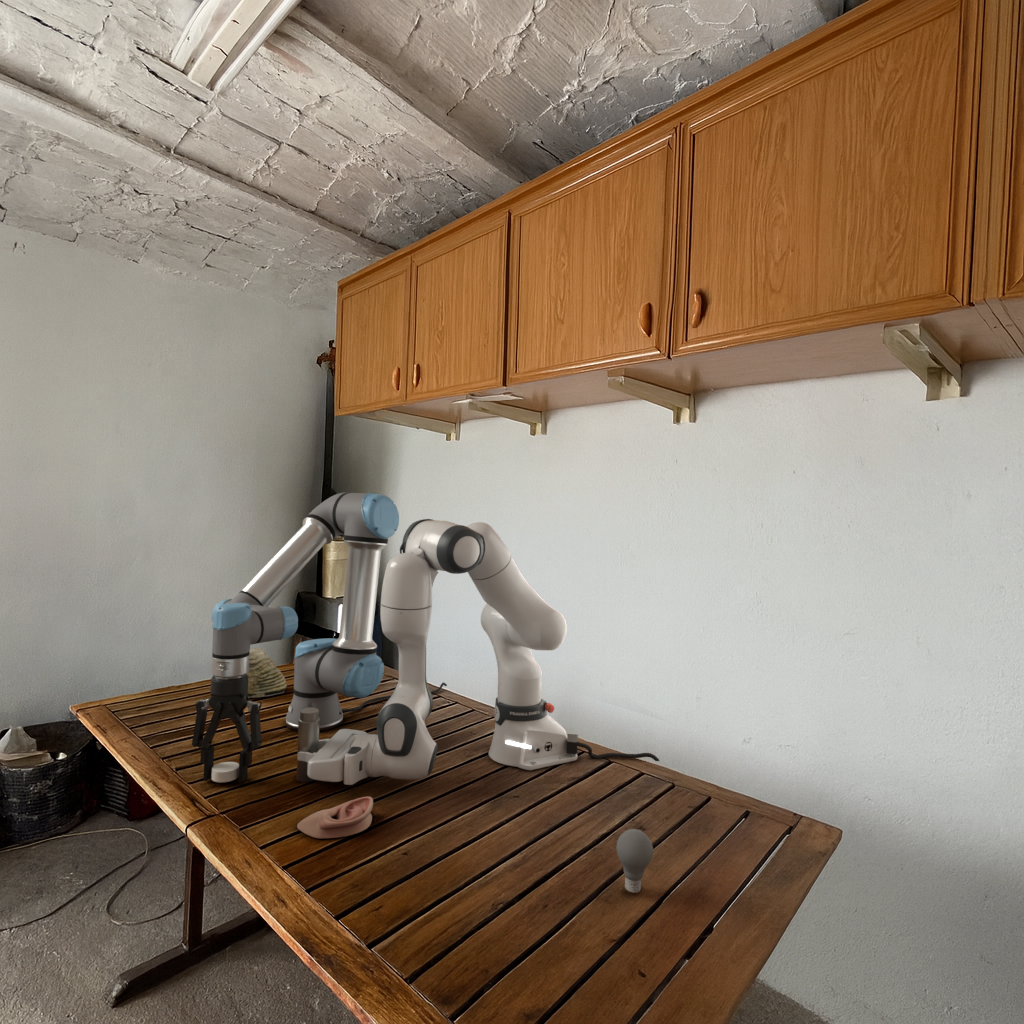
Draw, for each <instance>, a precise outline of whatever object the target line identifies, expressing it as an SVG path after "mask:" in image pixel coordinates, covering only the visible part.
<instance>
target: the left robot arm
mask: <svg viewBox="0 0 1024 1024" xmlns="http://www.w3.org/2000/svg"><path fill="white" fill-rule="evenodd" d="M394 502H395V501H393V499H391V497H389V496H387V495H385V494H380V493H376V492H348V491H347V492H346V491H345V492H339V493H336V494H333V495H332V496H330V497H328V498H327V499H325V500H324V501H322V502H321V503H320V504H318V505H317V506H316V507H314V509H312V510H311V512H309V513H308V514H307V515H306V516H305V517H304V519H303V520H302V526H301V527H300V528H299V529H298V530H297V531H296V532H295V533H294V535H293V536H291V537H290V538H289V540H288V541H287V542H286V543H285V544H284V545H282V547H280V549H278V551H277V552H276V554H274V555H273V556H272V557H271V559H270V560H269V561H268V562H267V563H266V564H265V565H264V566H262V568H261V569H260V570H258V572H257V573H256V574H255V575H254V576H253V577H252V578H251V579H250V581H248V582H247V584H245V586H244V587H242V589H241V590H240V591H239V592H237V594H236V595H234V596H233V598H229V599H227V598H226V599H223V600H221V601H219V602H217V603H216V604H215V606H213V609H212V612H211V620H212V648H211V649H212V651H211V652H212V654H211V669H210V670H211V672H210V673H211V675H212V677H211V678H210V696H209V698H207V699H206V698H201V699H199V700H197V701H196V702H195V704H194V705H195V710H196V716H195V721H194V730H193V734H192V740H191V746H192V747H194V748H195V747H197V748H199V750H200V759H199V761H200V764H201V765H203V781H205V782H207V781H208V780H210V779H211V777H212V767H213V766H214V761H215V746H214V745H212V744H213V740H214V738H215V735H216V733H217V730H218V728H219V727H220V723H221V721H222V719H225V718H226V719H228V720H229V719H230V720H232V723H233V724H234V725H235V729H236V732H237V735H238V738H239V742H240V744H241V747H242V750H241V751H240V752H239V760H238V761H239V762H238V764H239V777H238V783H239V784H240V783H242V784H243V782H245V780H246V779H248V770H249V766H251V764H252V762H253V751H256V750H258V748H259V747H260V746H262V744H263V741H262V728H261V727H262V726H261V725H262V724H261V714H260V713H261V708H262V705H263V704H262V702H261V701H259V700H258V701H252V700H250V698H248V695H247V693H248V675H247V673H248V672H249V654H250V649H251V645H256V644H262V643H268V642H274V641H282V640H284V639H288V638H291V637H293V636H294V635H295V634H296V632H297V630H298V627H299V617H298V614H297V612H296V610H295V609H294V608H293V607H291V606H280V605H279V606H276V607H269V606H270V605H271V604H272V602H273V601H275V599H277V597H278V596H279V595H280V594H281V593H282V592H283V590H284V589H285V588H286V587H287V586H288V585H289V584H290V583H291V582H292V581H293V579H294V578H296V576H297V575H298V574H299V573H300V572H301V571H302V570H303V568H304V567H305V566H307V564H308V563H309V562H310V561H311V560H312V558H314V556H315V555H317V553H318V552H319V551H320V550H321V549H322V548H323V546H324V545H329V544H331V543H332V542H333V541H335V539H336V538H338V537H339V536H343V543H345V545H346V546H347V548H348V550H347V561H346V570H345V580H344V589H343V597H342V598H343V599H342V608H341V618H340V626H339V627H340V628H339V636H338V638H335V637H334V638H331V637H329V638H315V639H308V640H304V641H301V642H299V643H298V644H297V645H296V646H295V652H294V653H295V654H294V656H293V659H294V661H293V662H294V663H293V664H294V668H293V695H292V696H293V697H292V699H291V702H290V704H289V705H288V711H287V713H286V715H285V726H286V728H287V729H289V730H291V731H294V732H295V731H296V732H298V724H299V718H300V711H301V710H302V709H304V708H317V709H318V710H319V713H318V717H319V718H320V723H319V732H325V731H329V730H332V729H335V728H337V727H339V726H340V725H342V723H343V722H344V714H343V712H345V713H346V712H356V711H359V710H360V709H362V708H364V706H365V705H367V704H369V703H372V702H376V701H380V700H385V699H390V697H391V696H392V694H391V695H383V696H379V697H373V698H371V699H367V700H366V701H364V702H362V703H361V704H360V705H358V706H357V707H353V708H342V706H341V702H340V699H339V695H338V694H340V695H343V696H344V697H347V698H355V699H365V698H367V697H369V695H372V694H373V693H374V692H375V691H376V689H377V688H378V687H379V686H380V684H381V682H382V679H383V677H384V673H385V664H384V662H383V660H382V658H381V657H380V656H379V655H378V654H377V649H378V645H377V643H376V642H375V641H374V640H373V634H374V633H373V632H374V625H375V624H374V623H375V613H376V604H377V595H378V585H379V575H380V565H381V555H382V550H383V549H384V548H386V547H387V546H388V545H389V544H388V543H389V538H391V537H392V536H394V535H395V534H396V532H397V530H398V528H399V524H400V513H399V510H398V508H397V505H396V504H395V503H394ZM443 687H448V684H447V683H446V682H442V683H441V684H440V685H439V687H438V688H437V689H435V690H432V691H431V690H430V692H431V695H432V694H436V693H439V691H441V690H442V688H443ZM209 708H211V709H212V711H213V713H212V716H211V718H210V722H209V723H208V727H207V729H206V724H207V717H208V711H209ZM246 708H247V710H248V713H249V726H248V723H247V719H246V713H245V709H246ZM249 728H250V730H249ZM205 730H206V731H205Z"/></svg>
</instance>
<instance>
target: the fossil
mask: <svg viewBox="0 0 1024 1024" xmlns="http://www.w3.org/2000/svg"><path fill="white" fill-rule="evenodd" d="M247 675H248V693H247V695H248V698H249V699H250V698H264V697H271V696H275V695H281V694H284V693H285V691H286V689H287V687H288V686H287V680H286V678H285V676H284V674H283V673H282V672H281V669H279V668H278V667H277V665H276V663H275V662H274V660H273V659H272V658H271V657H270V656H269V655H268V654H267V653H266V652H265V650H264V649H263V648H260V647H258V648H250V654H249V672H248V673H247Z"/></svg>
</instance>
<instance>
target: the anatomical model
mask: <svg viewBox="0 0 1024 1024" xmlns="http://www.w3.org/2000/svg"><path fill="white" fill-rule="evenodd" d="M373 805H374V799H373V797H372V796H362V797H357V798H355V799H352V800H348V801H346V802H343V803H341V804H338V805H336V806H334V807H331V808H326V809H322V810H319V811H316V812H313V813H312V814H310V815H307V816H306V817H304V818H303V819H301V820H300V821H299V822H298V823H297V825H296V828H297V829H298V830H299V831H300V832H301V833H304V835H306V836H309V837H312V838H314V839H319V840H320V839H334V838H335V839H337V838H342V837H348V836H353V835H356V834H358V833H361V832H363V831H365V830H367V829H368V828H369V827H370V826H371V824H372V821H373V815H372V813H371V812H372V810H373Z"/></svg>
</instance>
